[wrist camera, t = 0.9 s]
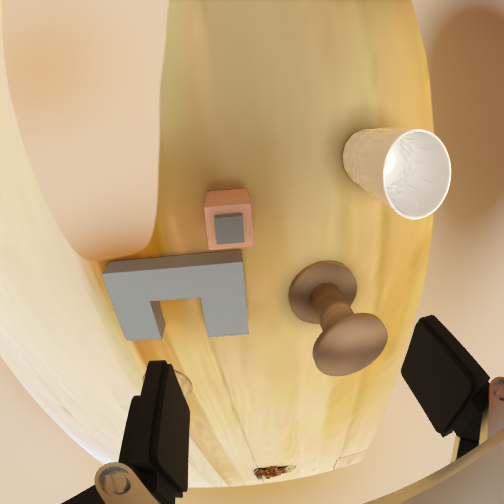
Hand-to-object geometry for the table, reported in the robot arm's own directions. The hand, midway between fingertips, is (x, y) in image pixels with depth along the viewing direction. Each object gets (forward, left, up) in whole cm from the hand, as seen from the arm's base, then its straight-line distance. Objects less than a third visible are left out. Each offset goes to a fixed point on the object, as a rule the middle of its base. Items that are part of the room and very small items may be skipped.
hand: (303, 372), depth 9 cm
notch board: (+11, -9, -23) cm, 27 cm away
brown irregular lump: (+75, +3, -23) cm, 79 cm away
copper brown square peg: (+1, -2, -23) cm, 23 cm away
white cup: (-4, +14, -23) cm, 27 cm away
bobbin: (+13, +9, -23) cm, 27 cm away
